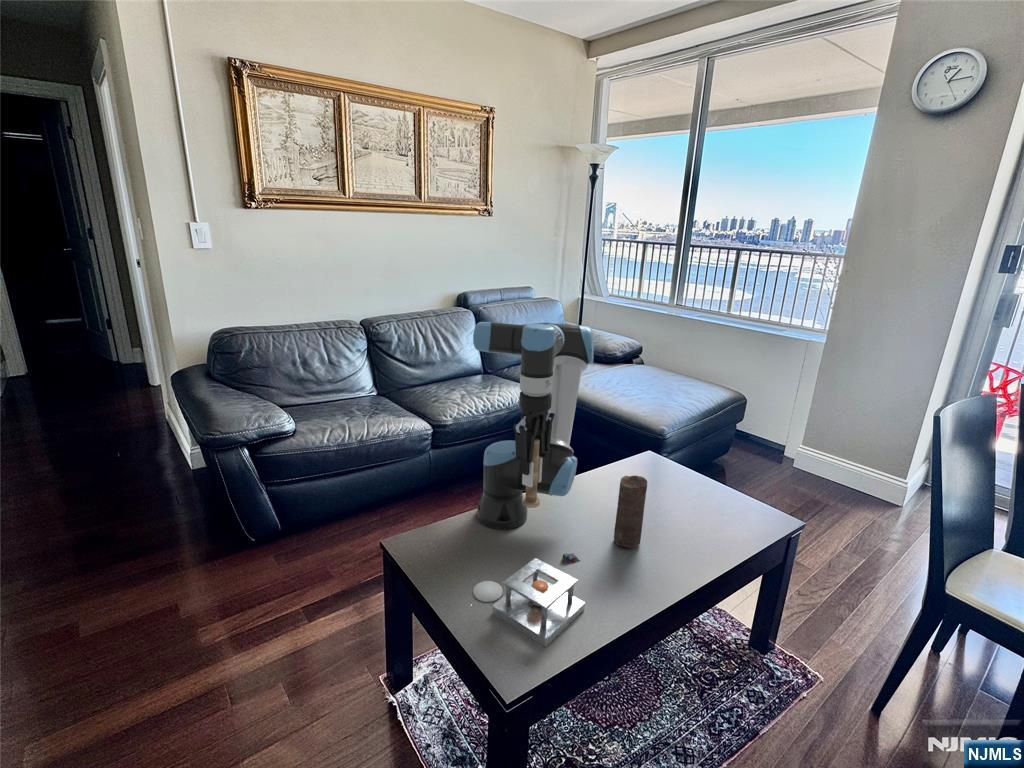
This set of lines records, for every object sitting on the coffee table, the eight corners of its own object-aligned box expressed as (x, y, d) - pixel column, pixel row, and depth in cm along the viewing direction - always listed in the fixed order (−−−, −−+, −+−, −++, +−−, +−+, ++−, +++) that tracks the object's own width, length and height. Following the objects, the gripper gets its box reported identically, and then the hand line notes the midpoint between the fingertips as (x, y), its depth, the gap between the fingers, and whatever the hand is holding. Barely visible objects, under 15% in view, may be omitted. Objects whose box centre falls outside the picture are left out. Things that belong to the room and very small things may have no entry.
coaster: (467, 592, 124) (467, 591, 124) (487, 578, 129) (487, 577, 129) (488, 606, 120) (488, 605, 120) (508, 591, 125) (508, 590, 125)
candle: (640, 553, 141) (648, 487, 136) (613, 549, 143) (619, 483, 137) (639, 537, 148) (646, 474, 143) (613, 534, 150) (619, 471, 144)
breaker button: (528, 600, 118) (528, 585, 116) (537, 592, 120) (538, 578, 119) (540, 608, 115) (541, 593, 114) (550, 600, 118) (551, 585, 117)
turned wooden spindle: (518, 503, 129) (520, 440, 124) (529, 496, 132) (532, 434, 127) (532, 509, 126) (535, 445, 121) (543, 503, 129) (546, 439, 124)
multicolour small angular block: (567, 566, 136) (568, 558, 135) (562, 560, 138) (562, 552, 137) (581, 562, 137) (582, 555, 137) (575, 556, 140) (576, 549, 139)
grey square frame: (492, 612, 118) (493, 582, 115) (533, 581, 129) (534, 552, 126) (545, 647, 109) (547, 614, 106) (584, 609, 120) (586, 579, 117)
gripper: (527, 403, 112) (523, 500, 119) (568, 388, 124) (562, 476, 131) (501, 395, 117) (498, 489, 124) (543, 381, 129) (539, 467, 135)
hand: (531, 482), depth 127 cm, fingers closed on turned wooden spindle, 3 cm apart
